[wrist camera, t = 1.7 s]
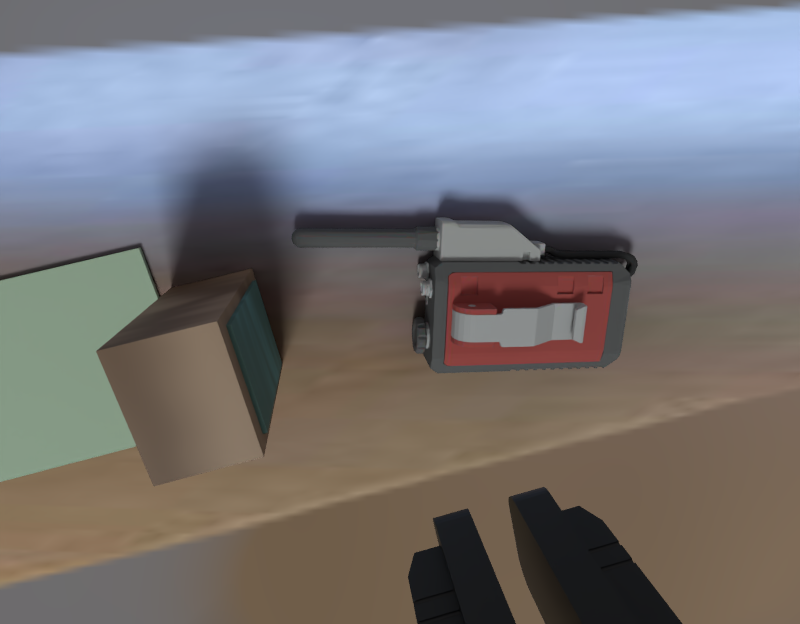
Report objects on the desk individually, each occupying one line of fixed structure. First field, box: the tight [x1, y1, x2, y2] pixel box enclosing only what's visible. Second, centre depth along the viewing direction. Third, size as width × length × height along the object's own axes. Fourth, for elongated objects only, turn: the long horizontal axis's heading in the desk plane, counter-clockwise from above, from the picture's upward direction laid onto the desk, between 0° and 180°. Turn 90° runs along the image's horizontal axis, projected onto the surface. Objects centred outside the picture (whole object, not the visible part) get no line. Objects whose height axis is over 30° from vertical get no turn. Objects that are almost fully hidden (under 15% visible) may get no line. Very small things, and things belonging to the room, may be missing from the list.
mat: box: [0, 247, 160, 482], centre depth 29 cm, size 12×11×1 cm
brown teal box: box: [96, 268, 282, 486], centre depth 25 cm, size 5×6×10 cm
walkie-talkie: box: [292, 217, 638, 373], centre depth 29 cm, size 9×4×20 cm
